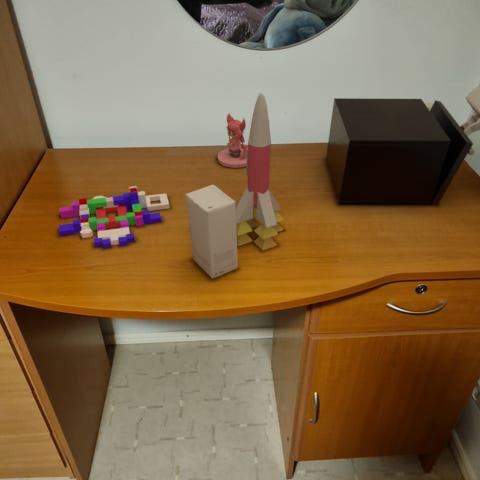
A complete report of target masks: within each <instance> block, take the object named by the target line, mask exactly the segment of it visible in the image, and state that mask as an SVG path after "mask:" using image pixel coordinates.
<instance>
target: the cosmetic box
mask: <svg viewBox="0 0 480 480" xmlns="http://www.w3.org/2000/svg"><path fill="white" fill-rule="evenodd" d="M184 196H185V202H186V211H187V219H188V227H189V235H190V245H191V251H192V260H193V261H194V262H195V263H196V264H197V265H198V266H199V267H200V268H201V269H202V270H203V271H204V272H205V273H206V274H207V275H208V276H209V277H210V278H211V279H216V278H218V277H220V276H223V275H226V274H228V273H230V272H232V271H234V270H237V269H238V268H239V266H238V265H239V263H238V259H239V258H238V246H237V234H236V208H237V206H236V201H235V200H234V199H233V198H231V197H230V196H229V195H228V194H226V193H225V192H224V191H222V190H221V189H220V188H219V187H217V185H215V184H210V185H208V186H204V187H201V188H198V189H196V190H193V191H190V192H187V193H185V195H184Z"/></svg>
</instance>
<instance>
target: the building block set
mask: <svg viewBox="0 0 480 480" xmlns="http://www.w3.org/2000/svg"><path fill="white" fill-rule="evenodd" d="M156 201H159V202H160V203H159V202H158V203H151V202H156ZM170 207H171V206H170V202H169V198H168V195H167V193H166V192H164V193H158V194H149V195H146V191H145V190H142V191H139V188H138V187H137V185H133V186H128V192H127V193H126V192H125V193H122V195H115V196H111V197H106V196H104V195H96V196H94V197H93V198H91V199H88V198H87V197H85V198H79V199H78V201H77V200H76V201H72V202H71V206H64V207H63V206H62V207H59V215H60V218H61V219H67V218H75V217H79V219H72V222H71V223H65V224H64V223H63V224H59V225H58V233H59V235H60V236H61V237H62V236H70V235H71V236H72V235H76V234H77V233H79V234H80V237H81V238H82V239H85V238H86V239H89V238H92V237H93V235H94V231H97V237H96V238H95V237H94V238H93V242H94V243H93V244H94V247H95V248H100V247H103V249H109V248H112V246H115V245H119V247H124V246H128V244H130V243H136V240H135V234H134V233H133V232H131V231H130V226H133V225H134V226H135V225H136V227H143V226H145V224H147V225H148V224H149V225H150V224H157V223H162V216H161V213H160V212H153V211H159V210H169V209H170ZM144 208H146V209H147V210H143V209H144ZM128 210H132V212H128ZM151 211H152V212H153V213H150V212H151ZM113 212H117V216H110V217H107V213H113ZM91 215H96V216H94V217H91Z"/></svg>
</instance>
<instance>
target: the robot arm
mask: <svg viewBox="0 0 480 480" xmlns="http://www.w3.org/2000/svg"><path fill="white" fill-rule="evenodd" d="M465 100H466V102H467V104H468V105H469V106H470V108H471V109H472V110H473V112H472V113H470V115H469V117H468V118H467V119H466V121H465V122H463V123H461V124H460V125H459V126H460V127H461V129H462V130H463V131H464V132H465V134H466V135H467V136H468V137H469V136H470V135H471V134H473V133H475V132H478V131H480V85H478V86H477V87H475V88H474V89H472V90H471V91H470V92H468V93H467V95H466V96H465Z"/></svg>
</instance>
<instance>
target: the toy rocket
mask: <svg viewBox="0 0 480 480" xmlns="http://www.w3.org/2000/svg"><path fill="white" fill-rule="evenodd" d="M271 149H272V139H271V128H270V119H269V112H268V105H267V101H266V98H265V95H264V94H263V93H262V92H261V93H259V94H258V96H257V99H256V101H255V104H254V108H253V113H252V117H251V122H250V129H249V136H248V142H247V160H246V166H245V167H246V169H245V170H246V171H245V175H246V176H247V186H246V188H245V189H244V192H243V193H242V196H241V198H240V199H239V201H238V204H237V206H236V234H237V247H240V246H244V245H246V244H249V243H252V242H253V243H254V244H255V245H256V246H257V247H258V248H260V249H261V250H262V251H265V250H269V249H270V248H273V247H276V246H278V244H277V243H276V241H274V239H273V238H272V237H274V236H275V237H276V236H277V235H279V232H281V231H284V228H283V227H282V225H280V223H279V222H282V221H284V220H285V219H284V218H283V217H282V216H281V214H280V213H279V211H280V210H282V208H281V206H280V204H279V203H278V201H277V200H276V198H275V196H274V195H273V193H272V191H271V190H270V186H269V185H270V173H271V172H270V169H271V153H272V152H271ZM256 220H257V221H258V222H259V223H260V225H259V224H258V223H257V221H256ZM250 232H255V233H256V234H257V235H258V236H257V238H256V239H254V240H253V239H252V237H250V236H249V234H248V233H250Z"/></svg>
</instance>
